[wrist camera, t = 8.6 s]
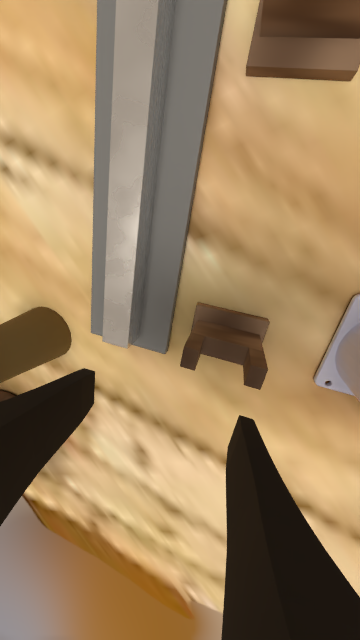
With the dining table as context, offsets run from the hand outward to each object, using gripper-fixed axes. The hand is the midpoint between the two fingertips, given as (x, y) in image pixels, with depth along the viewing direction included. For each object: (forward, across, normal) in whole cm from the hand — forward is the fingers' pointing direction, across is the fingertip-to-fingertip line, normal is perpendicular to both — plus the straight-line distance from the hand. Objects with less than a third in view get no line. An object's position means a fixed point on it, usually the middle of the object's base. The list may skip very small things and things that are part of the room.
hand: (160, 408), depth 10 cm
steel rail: (+10, +6, -10) cm, 15 cm away
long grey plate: (+10, +6, -10) cm, 16 cm away
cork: (+11, +16, +5) cm, 20 cm away
